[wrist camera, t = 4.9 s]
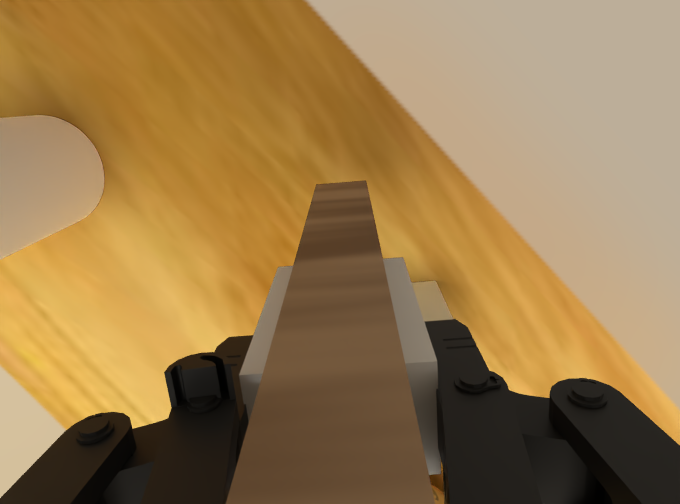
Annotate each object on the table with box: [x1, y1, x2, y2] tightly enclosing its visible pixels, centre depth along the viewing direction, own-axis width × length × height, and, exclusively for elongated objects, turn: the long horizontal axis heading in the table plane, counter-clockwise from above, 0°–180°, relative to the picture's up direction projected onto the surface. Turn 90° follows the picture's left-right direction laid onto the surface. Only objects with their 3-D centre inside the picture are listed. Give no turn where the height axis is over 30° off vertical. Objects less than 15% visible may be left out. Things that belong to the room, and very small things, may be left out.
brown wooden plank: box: [226, 181, 435, 504], centre depth 16 cm, size 4×2×24 cm, turn 5°
